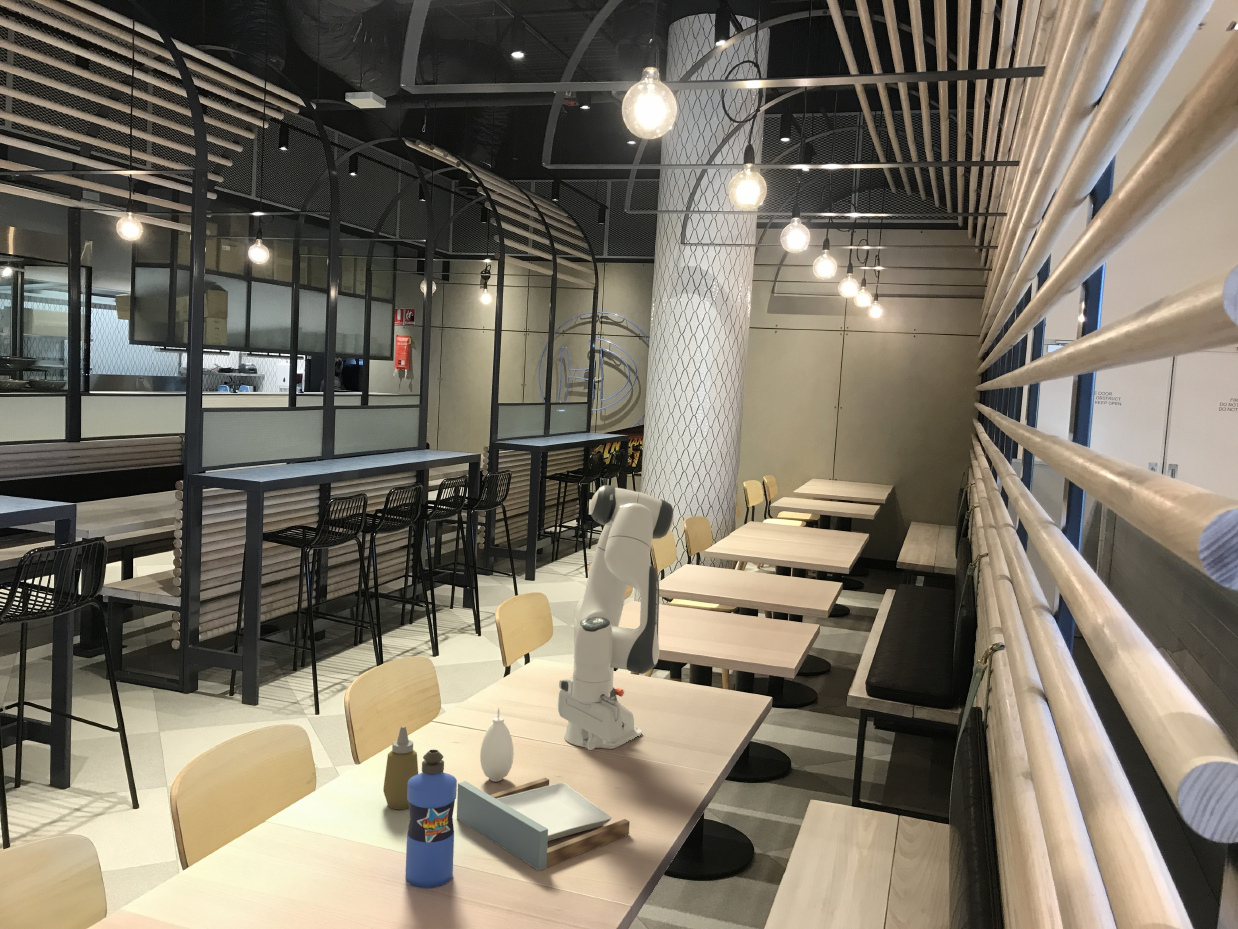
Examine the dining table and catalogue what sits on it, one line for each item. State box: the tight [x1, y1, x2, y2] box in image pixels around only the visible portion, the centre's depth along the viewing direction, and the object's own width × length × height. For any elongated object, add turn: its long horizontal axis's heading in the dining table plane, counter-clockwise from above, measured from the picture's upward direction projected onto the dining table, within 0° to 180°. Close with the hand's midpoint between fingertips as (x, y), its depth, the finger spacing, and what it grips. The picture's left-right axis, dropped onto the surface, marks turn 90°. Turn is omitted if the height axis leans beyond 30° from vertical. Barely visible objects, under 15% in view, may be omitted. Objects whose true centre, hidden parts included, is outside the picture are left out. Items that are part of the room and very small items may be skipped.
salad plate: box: [497, 782, 612, 842], centre depth 211 cm, size 21×21×3 cm
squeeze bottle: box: [383, 725, 419, 810], centre depth 215 cm, size 8×8×18 cm
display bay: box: [456, 777, 630, 872], centre depth 208 cm, size 25×29×8 cm
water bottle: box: [405, 749, 458, 889], centre depth 184 cm, size 9×9×25 cm
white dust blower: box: [479, 707, 515, 783], centre depth 231 cm, size 8×8×18 cm
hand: (587, 747), depth 219 cm, fingers closed
